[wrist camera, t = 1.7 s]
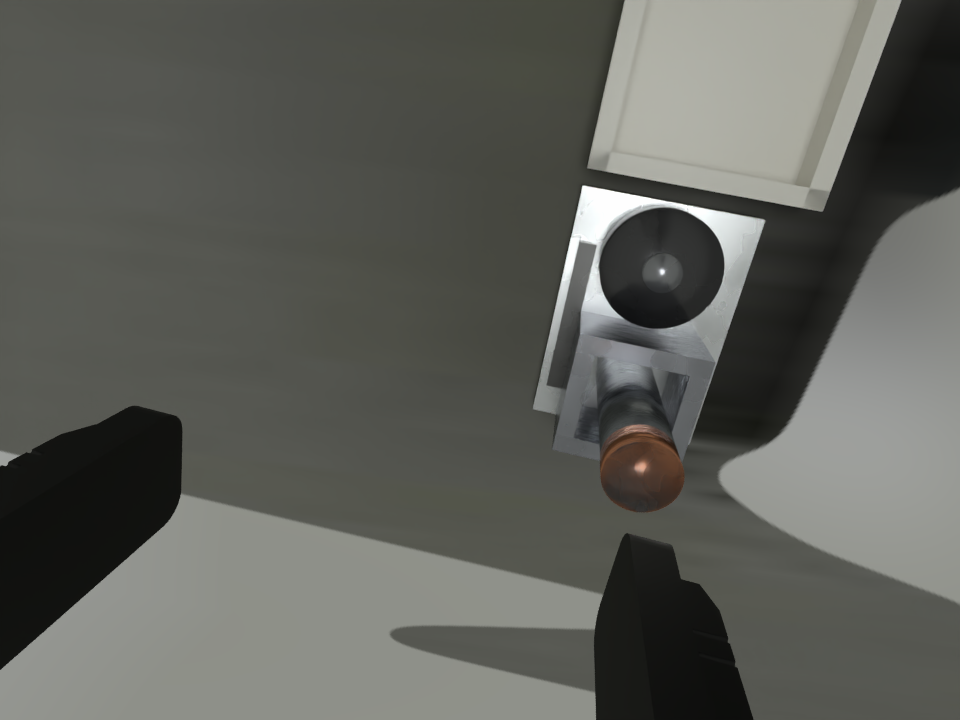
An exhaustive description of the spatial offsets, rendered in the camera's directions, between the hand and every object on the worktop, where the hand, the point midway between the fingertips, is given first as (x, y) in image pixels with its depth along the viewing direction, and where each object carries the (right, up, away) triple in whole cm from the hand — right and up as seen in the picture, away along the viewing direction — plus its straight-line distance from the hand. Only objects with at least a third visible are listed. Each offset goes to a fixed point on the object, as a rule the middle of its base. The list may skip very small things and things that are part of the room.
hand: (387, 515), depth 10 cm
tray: (+15, +18, +21) cm, 31 cm away
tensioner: (+11, +5, +26) cm, 29 cm away
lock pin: (+11, +2, +26) cm, 28 cm away
